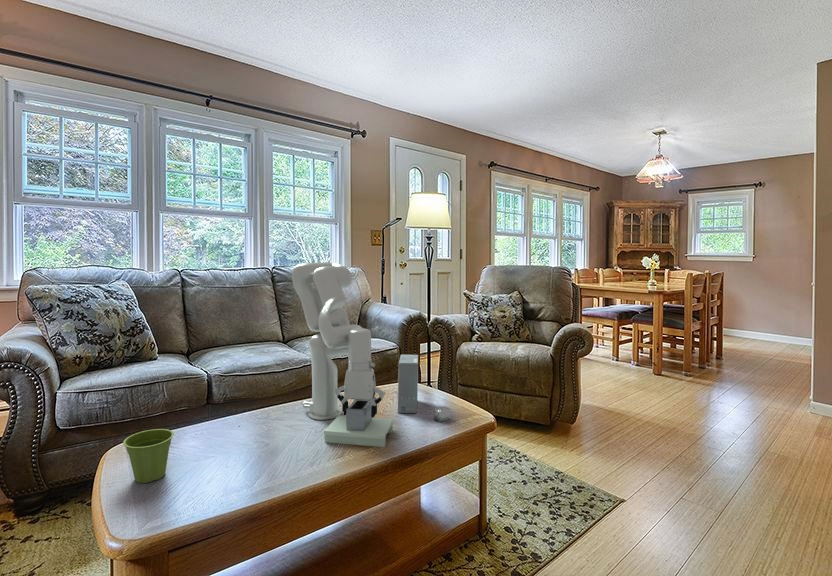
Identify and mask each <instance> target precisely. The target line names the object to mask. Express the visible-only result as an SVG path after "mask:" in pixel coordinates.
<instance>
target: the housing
mask: <svg viewBox="0 0 832 576" xmlns="http://www.w3.org/2000/svg"><path fill="white" fill-rule="evenodd" d="M371 406H372V403H371V402H370V401H369V400H356V399H353V401H352V402H351V404H350V405H348V408H347V409H346V415H345V416H346V430H352V431H365V429H366V428H367V426H368V425H369V423H370V422H371V421H372V417H371Z"/></svg>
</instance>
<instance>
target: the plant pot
mask: <svg viewBox="0 0 832 576" xmlns="http://www.w3.org/2000/svg"><path fill="white" fill-rule="evenodd" d="M174 436H175V432H174V431H172V430H170V429H166V428H156V429H155V428H153V429H148V430H143V431H142V430H141V431H139V432H136V433H134V434H131V435H130V436H127V437H126V438H125V439H124V440H123V441H122V445H123V446H124V447H125V448H126V451H127V454H128V456H129V461H130V465H131V468H132V474H133V477H134V480H135V482H137V483H139V484H148V482H149V483H151V482H153V481H158V480H160V479H162V478H163V477H164V476H165V475H166V471H167V465H168V459H169V458H168V457H169V452H170V446H171V444H172V438H173V437H174Z"/></svg>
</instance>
